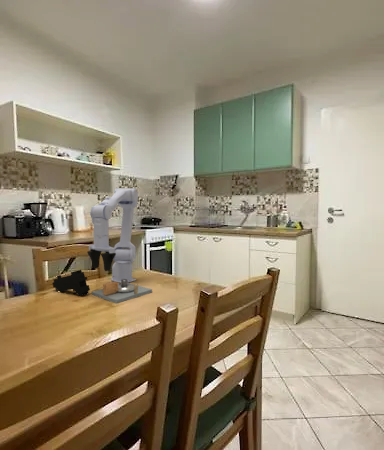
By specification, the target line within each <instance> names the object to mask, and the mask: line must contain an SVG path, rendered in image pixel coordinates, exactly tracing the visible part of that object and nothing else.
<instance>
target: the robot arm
mask: <svg viewBox="0 0 384 450" xmlns="http://www.w3.org/2000/svg"><path fill="white" fill-rule="evenodd" d="M138 198H139V195H138V189H136V188H135V187H132V188H127V187H126V188H123V187H121V188H119V187H116V188H115V189H114V191H113V194H112V196H106V197H105V198H104V199H103V201H101V202H100V203H99V204H96V205H93V206H92V207H91V209H90V212H89V214H90V219H91V223H92V225H93V244H88V251H87V252H86V253H87V254H88V256H89V258H90V261H91V265H92V268H93V269H97V268H100V259H102V261H103V271H105V272H108V271H111V267H112V271H111V272H112V273H111V275H112V276H111V277H112V278H110V281H111V282H114V281H116V282H118V284H121V280H122V279H128V283H131V282H135V281H137V279H136V278H133V263H134V262H135V260H136V258H137V251H136V250H137V246H135V244H134V243H132V242H131V241H132V230H133V229H132V228H133V220H134V211H135V208H136V207H137V206H138ZM117 207H121V208H122V220H121V226H120V227H121V228H120V237H119V242H117V243H116V244H114V247H112V246H111V245H110V241H109V240H110V239H109V238H110V237H109V234H110V233H109V222H110V219H111V218H112V214H113V212H114V211H115V210H116V209H117ZM102 252H103V253H102ZM113 261H114V263H113Z"/></svg>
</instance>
